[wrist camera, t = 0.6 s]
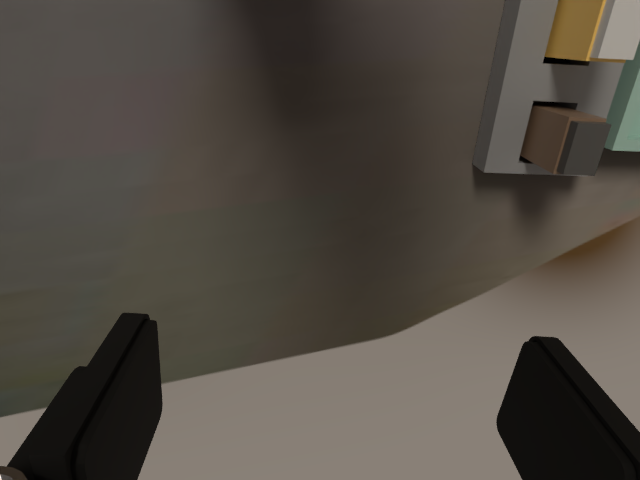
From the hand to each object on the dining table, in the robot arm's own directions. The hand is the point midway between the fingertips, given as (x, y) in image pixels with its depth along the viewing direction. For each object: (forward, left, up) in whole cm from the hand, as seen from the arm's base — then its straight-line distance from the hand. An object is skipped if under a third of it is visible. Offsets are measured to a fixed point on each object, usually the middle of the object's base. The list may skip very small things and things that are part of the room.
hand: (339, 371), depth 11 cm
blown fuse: (-1, +21, -33) cm, 39 cm away
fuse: (-9, +21, -33) cm, 40 cm away
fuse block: (-5, +21, -33) cm, 39 cm away
